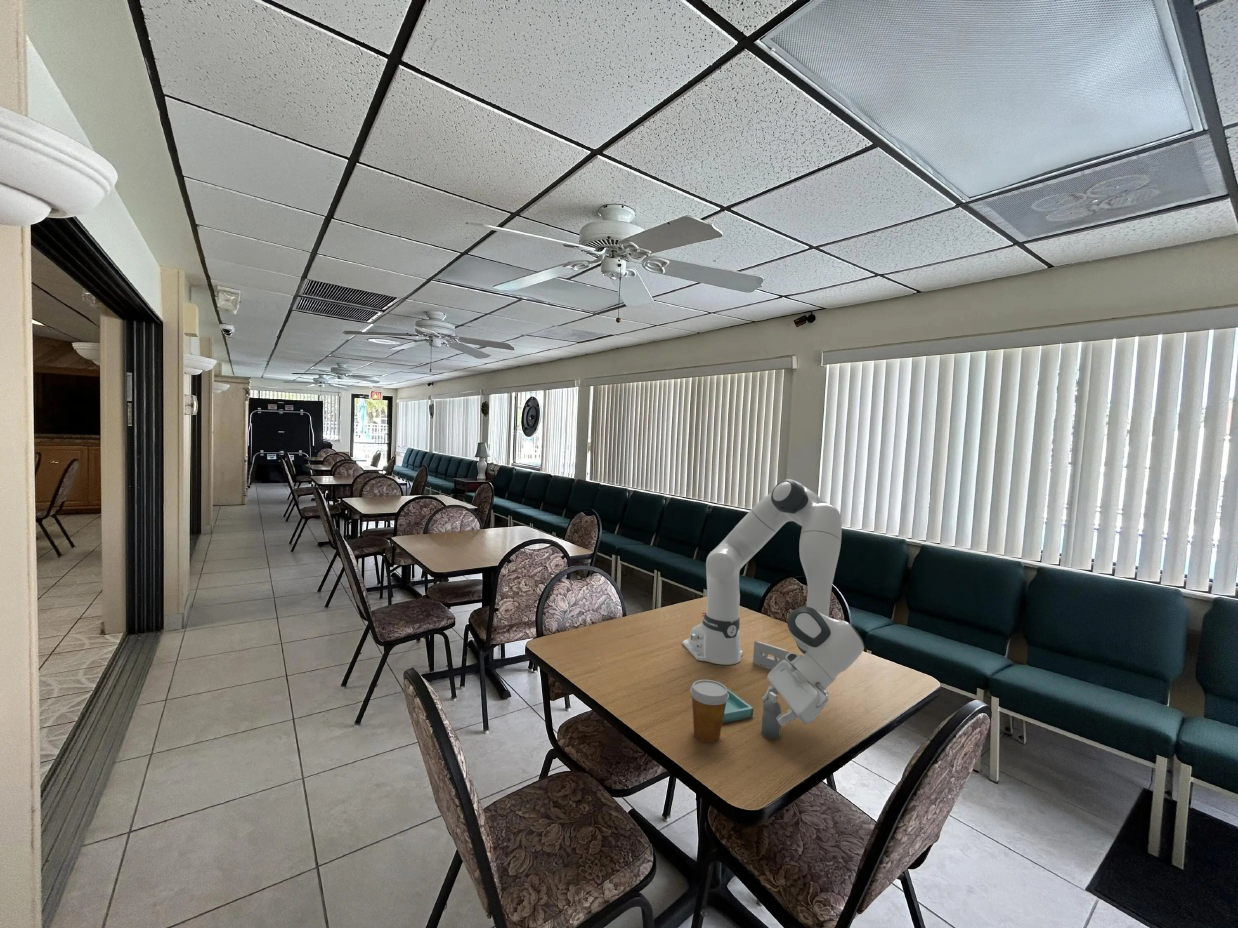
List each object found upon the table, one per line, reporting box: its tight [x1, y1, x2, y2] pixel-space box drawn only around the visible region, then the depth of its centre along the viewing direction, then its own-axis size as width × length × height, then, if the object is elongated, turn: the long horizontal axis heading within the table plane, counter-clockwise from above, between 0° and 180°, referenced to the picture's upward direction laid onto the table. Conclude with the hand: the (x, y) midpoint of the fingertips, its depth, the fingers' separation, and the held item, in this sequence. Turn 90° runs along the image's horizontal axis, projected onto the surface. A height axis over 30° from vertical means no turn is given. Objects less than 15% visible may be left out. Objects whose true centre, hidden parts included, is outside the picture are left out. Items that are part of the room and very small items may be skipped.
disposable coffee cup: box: [689, 679, 729, 743], centre depth 124 cm, size 10×10×12 cm
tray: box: [722, 688, 754, 724], centre depth 137 cm, size 12×10×2 cm
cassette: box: [752, 640, 791, 671], centre depth 166 cm, size 12×2×8 cm, turn 50°
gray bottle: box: [761, 692, 782, 740], centre depth 126 cm, size 4×4×10 cm
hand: (771, 712), depth 126 cm, fingers open, 8 cm apart
